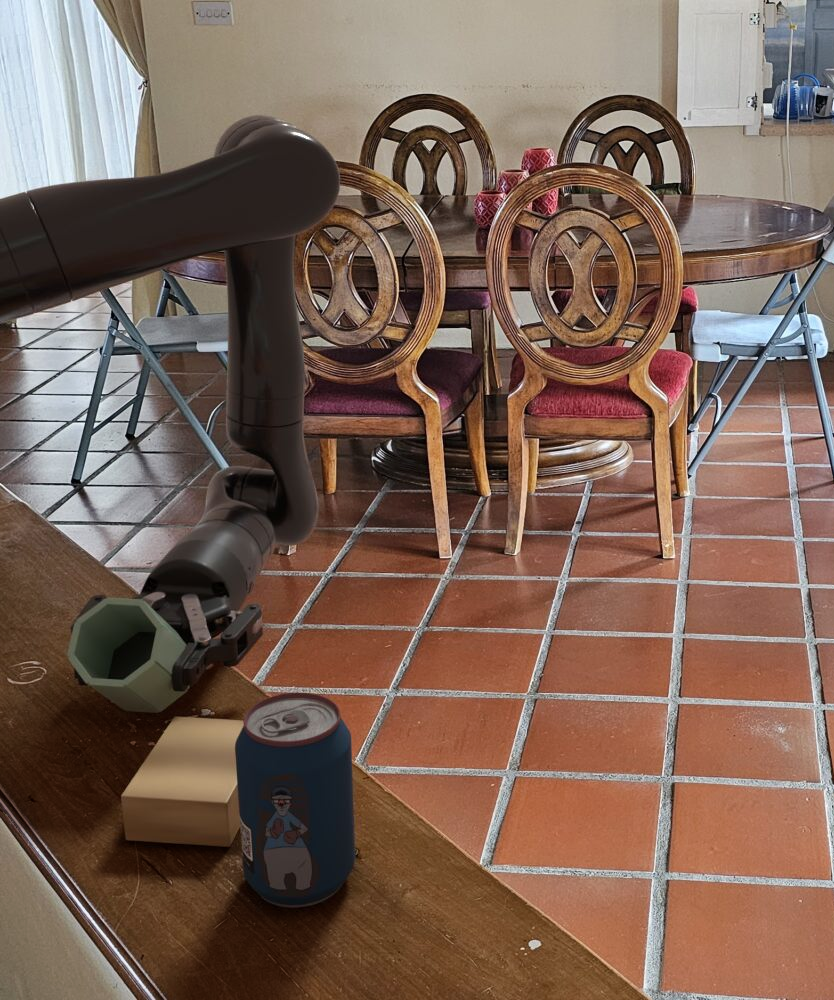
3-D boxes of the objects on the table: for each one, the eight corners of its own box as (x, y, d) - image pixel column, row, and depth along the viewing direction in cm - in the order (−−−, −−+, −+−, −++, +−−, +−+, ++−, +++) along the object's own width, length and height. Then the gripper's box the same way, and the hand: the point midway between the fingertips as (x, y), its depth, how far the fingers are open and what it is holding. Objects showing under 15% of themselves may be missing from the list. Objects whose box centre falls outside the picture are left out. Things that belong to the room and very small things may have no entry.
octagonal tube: (101, 710, 97) (119, 629, 100) (186, 716, 97) (201, 634, 100) (60, 683, 90) (80, 595, 92) (151, 688, 90) (169, 600, 92)
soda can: (330, 833, 87) (324, 677, 83) (373, 891, 82) (369, 727, 78) (229, 866, 84) (216, 704, 79) (267, 929, 78) (256, 759, 74)
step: (178, 757, 95) (174, 715, 94) (272, 763, 95) (270, 721, 93) (125, 840, 86) (120, 796, 84) (230, 847, 85) (226, 802, 84)
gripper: (117, 533, 108) (25, 626, 93) (287, 543, 108) (224, 637, 92) (125, 613, 111) (38, 716, 96) (292, 623, 111) (231, 728, 95)
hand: (129, 677), depth 94 cm, fingers closed on octagonal tube, 6 cm apart
